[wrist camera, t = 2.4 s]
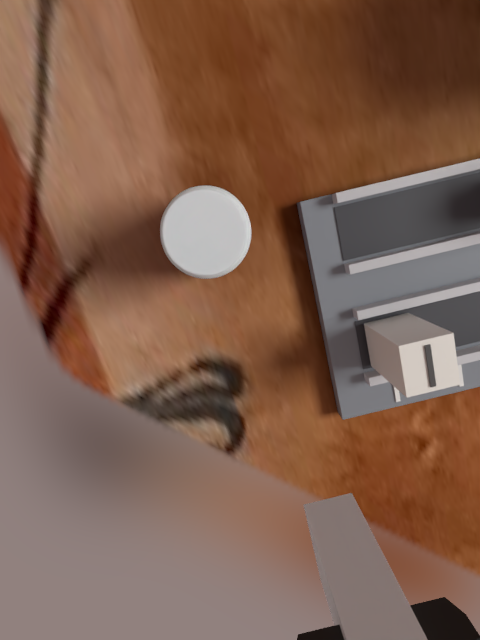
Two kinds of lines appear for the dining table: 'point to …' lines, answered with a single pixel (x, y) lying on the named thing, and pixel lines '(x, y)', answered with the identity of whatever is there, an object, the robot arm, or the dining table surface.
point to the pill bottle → (205, 232)
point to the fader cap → (412, 354)
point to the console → (395, 274)
